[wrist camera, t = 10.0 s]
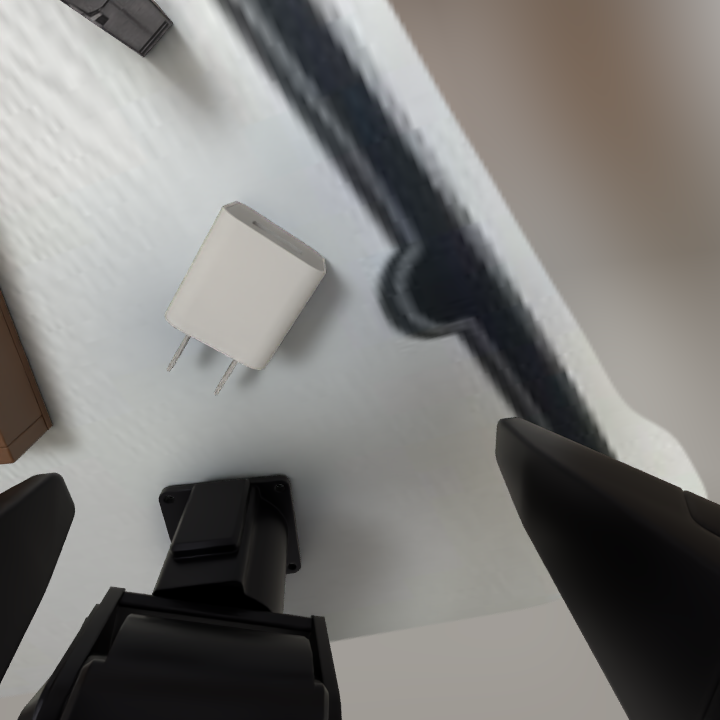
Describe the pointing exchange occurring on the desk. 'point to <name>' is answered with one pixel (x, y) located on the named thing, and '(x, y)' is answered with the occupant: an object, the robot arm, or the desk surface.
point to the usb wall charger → (244, 288)
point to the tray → (17, 395)
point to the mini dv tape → (126, 20)
